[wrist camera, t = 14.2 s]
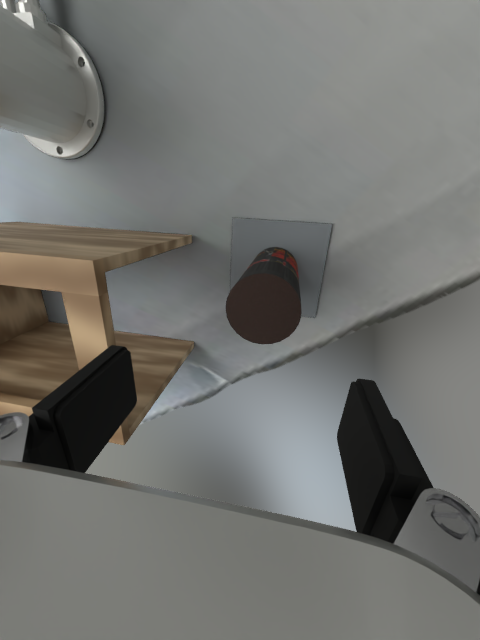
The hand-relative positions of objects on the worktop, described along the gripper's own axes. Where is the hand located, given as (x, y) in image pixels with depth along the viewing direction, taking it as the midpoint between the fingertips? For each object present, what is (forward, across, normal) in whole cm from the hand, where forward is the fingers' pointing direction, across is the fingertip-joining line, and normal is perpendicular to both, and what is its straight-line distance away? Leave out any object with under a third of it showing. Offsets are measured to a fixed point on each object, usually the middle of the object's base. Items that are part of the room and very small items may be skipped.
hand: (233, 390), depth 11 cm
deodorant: (+26, -1, 0) cm, 26 cm away
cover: (+26, +24, +6) cm, 36 cm away
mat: (+26, -1, 0) cm, 26 cm away
